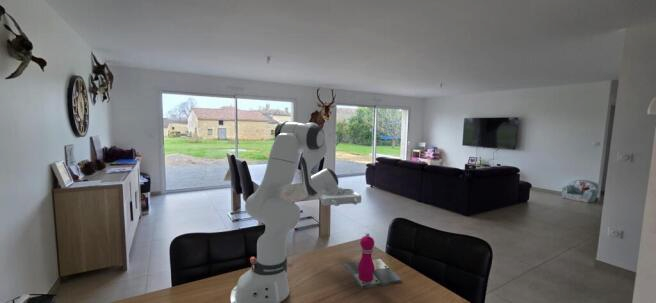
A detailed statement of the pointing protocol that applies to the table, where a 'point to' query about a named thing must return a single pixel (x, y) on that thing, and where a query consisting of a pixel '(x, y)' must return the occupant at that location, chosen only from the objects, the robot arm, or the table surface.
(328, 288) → the table surface
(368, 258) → the pepper mill
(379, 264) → the tile board
